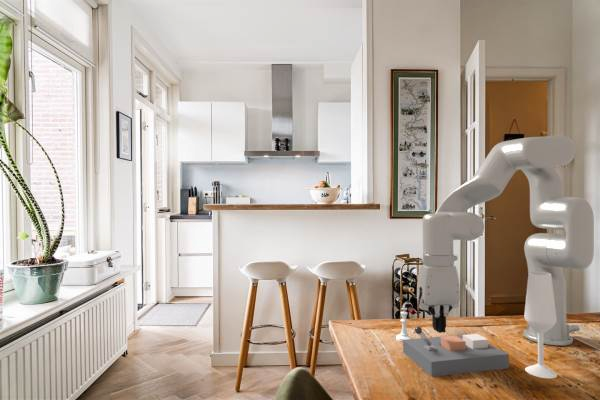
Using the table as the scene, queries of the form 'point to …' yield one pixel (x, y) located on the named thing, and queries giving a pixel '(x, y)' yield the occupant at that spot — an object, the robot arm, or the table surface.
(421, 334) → the toggle lever
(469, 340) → the button white
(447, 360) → the panel
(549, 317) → the champagne flute
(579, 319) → the table surface
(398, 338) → the chess piece
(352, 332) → the table surface
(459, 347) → the button terracotta
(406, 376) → the table surface
